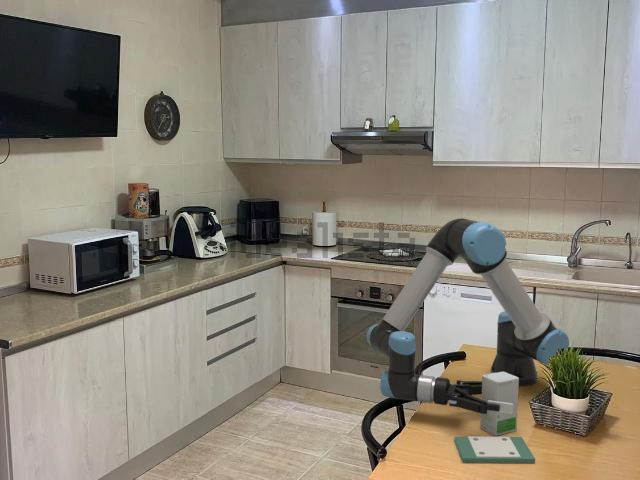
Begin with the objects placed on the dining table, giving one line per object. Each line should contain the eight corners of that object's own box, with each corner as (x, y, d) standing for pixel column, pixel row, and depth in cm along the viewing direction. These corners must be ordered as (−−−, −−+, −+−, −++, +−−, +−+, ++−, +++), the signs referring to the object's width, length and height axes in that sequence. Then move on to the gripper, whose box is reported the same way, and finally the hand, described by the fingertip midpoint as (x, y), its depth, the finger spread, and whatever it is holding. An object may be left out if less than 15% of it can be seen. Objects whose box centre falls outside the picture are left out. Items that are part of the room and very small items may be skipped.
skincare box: (494, 437, 178) (497, 382, 175) (478, 427, 183) (480, 374, 181) (517, 430, 181) (520, 377, 179) (501, 421, 187) (503, 369, 185)
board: (462, 462, 164) (463, 457, 164) (454, 440, 176) (454, 435, 175) (534, 463, 163) (535, 457, 163) (521, 441, 175) (521, 435, 175)
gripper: (441, 387, 199) (516, 397, 191) (426, 418, 177) (510, 431, 169) (442, 364, 197) (517, 373, 190) (426, 392, 176) (511, 403, 168)
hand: (514, 400), depth 180 cm, fingers open, 11 cm apart
